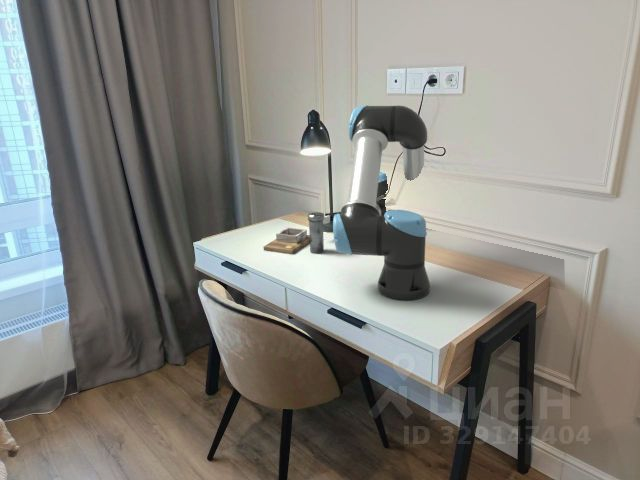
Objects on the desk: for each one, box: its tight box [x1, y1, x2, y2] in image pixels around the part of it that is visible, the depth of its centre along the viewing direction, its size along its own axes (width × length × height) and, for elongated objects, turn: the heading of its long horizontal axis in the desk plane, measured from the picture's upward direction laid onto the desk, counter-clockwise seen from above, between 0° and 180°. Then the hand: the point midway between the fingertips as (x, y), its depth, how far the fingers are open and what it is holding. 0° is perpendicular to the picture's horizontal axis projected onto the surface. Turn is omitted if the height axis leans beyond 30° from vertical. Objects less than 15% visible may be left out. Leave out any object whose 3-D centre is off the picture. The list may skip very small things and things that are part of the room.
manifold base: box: [263, 227, 310, 255], centre depth 182 cm, size 18×12×4 cm, turn 155°
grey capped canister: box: [307, 211, 325, 255], centre depth 173 cm, size 6×6×14 cm
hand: (330, 225), depth 178 cm, fingers open, 13 cm apart
